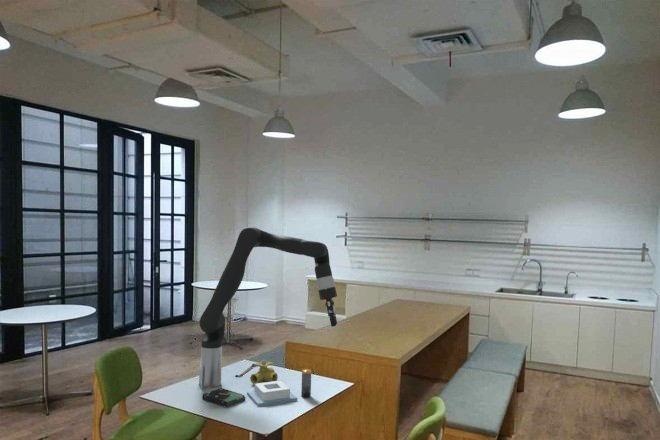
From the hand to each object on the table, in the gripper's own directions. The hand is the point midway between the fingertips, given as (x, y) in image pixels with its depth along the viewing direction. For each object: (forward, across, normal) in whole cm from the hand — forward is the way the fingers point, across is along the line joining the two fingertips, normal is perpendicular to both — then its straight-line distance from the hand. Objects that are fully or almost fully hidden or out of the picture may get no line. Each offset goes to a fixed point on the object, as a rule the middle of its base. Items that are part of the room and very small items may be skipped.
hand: (334, 325), depth 196 cm
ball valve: (+21, -20, -38) cm, 48 cm away
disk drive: (+20, +5, -51) cm, 55 cm away
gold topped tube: (+27, -4, -18) cm, 33 cm away
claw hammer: (+17, -35, -49) cm, 62 cm away
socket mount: (+24, 0, -32) cm, 40 cm away
